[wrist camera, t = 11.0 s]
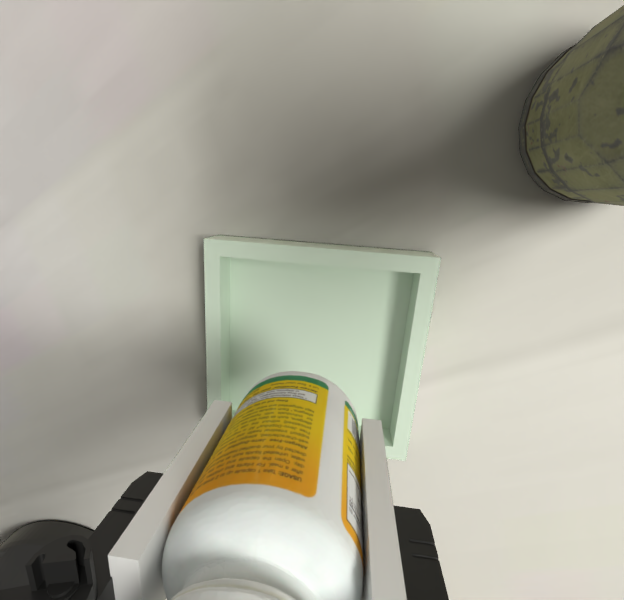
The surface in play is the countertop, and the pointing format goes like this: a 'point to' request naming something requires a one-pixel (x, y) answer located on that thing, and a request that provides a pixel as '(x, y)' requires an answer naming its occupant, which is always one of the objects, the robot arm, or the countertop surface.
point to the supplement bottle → (275, 501)
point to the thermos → (580, 119)
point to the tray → (320, 322)
